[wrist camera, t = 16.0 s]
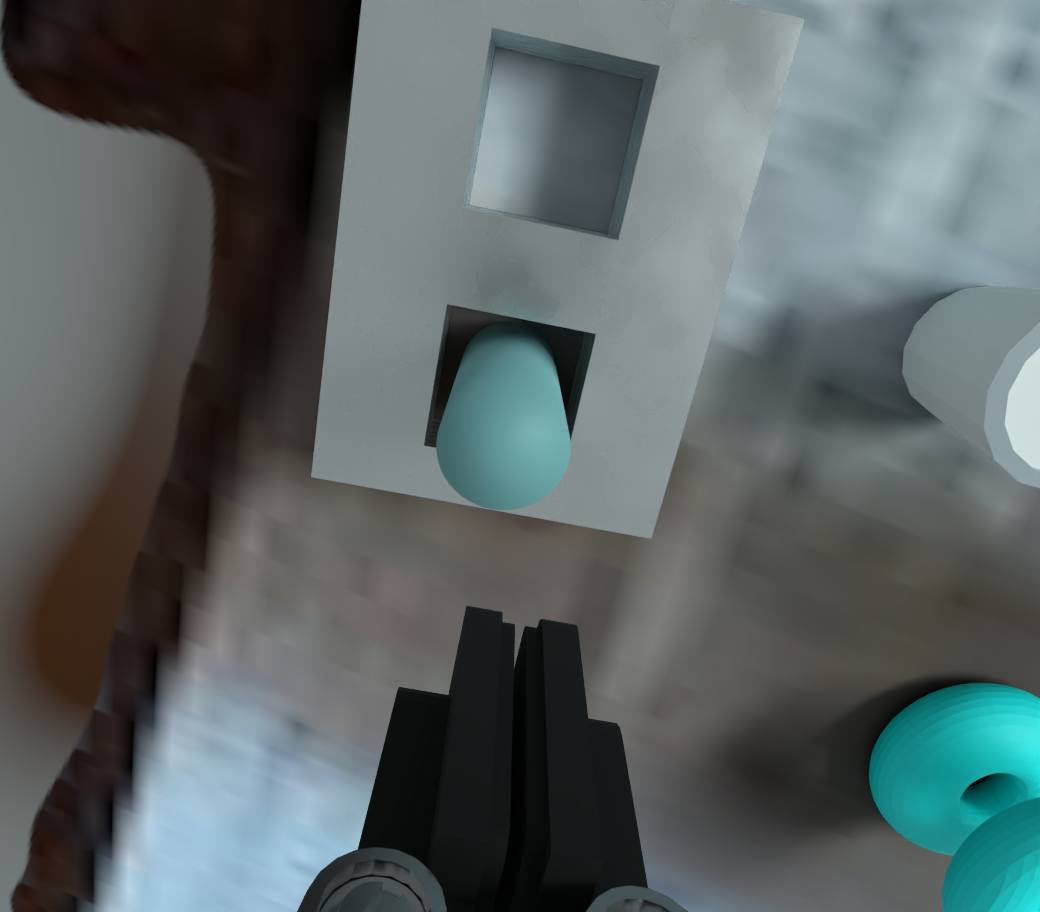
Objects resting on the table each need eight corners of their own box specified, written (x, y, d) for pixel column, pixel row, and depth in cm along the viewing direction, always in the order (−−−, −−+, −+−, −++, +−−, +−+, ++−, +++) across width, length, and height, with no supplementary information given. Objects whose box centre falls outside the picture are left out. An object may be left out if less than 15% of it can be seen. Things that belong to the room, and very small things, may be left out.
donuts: (1282, 867, 28) (1139, 1032, 31) (1089, 693, 37) (995, 835, 40) (1046, 816, 27) (925, 992, 30) (909, 651, 36) (829, 800, 39)
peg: (470, 313, 30) (447, 372, 21) (564, 331, 30) (584, 397, 21) (454, 403, 31) (426, 497, 22) (544, 421, 32) (554, 520, 22)
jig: (389, -50, 26) (370, -84, 22) (769, 39, 26) (804, 19, 23) (332, 446, 32) (311, 477, 29) (638, 503, 33) (651, 538, 30)
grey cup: (854, 387, 31) (943, 441, 25) (956, 239, 29) (1084, 256, 22) (980, 455, 32) (1096, 524, 26) (1087, 317, 30) (1245, 355, 24)
